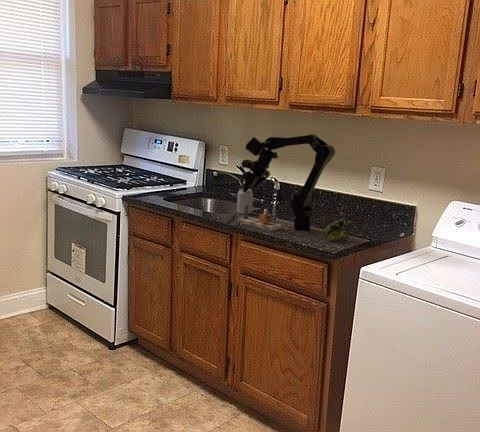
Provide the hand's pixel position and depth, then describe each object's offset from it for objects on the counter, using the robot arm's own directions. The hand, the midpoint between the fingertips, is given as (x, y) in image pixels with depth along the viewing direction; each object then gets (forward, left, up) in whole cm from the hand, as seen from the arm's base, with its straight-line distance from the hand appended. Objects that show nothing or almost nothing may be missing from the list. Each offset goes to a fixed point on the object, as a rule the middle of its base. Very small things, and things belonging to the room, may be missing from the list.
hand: (248, 190), depth 251 cm
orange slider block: (-10, +11, -12) cm, 19 cm away
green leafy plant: (-42, +24, -14) cm, 51 cm away
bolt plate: (-7, +9, -14) cm, 18 cm away
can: (+3, -14, -14) cm, 21 cm away
